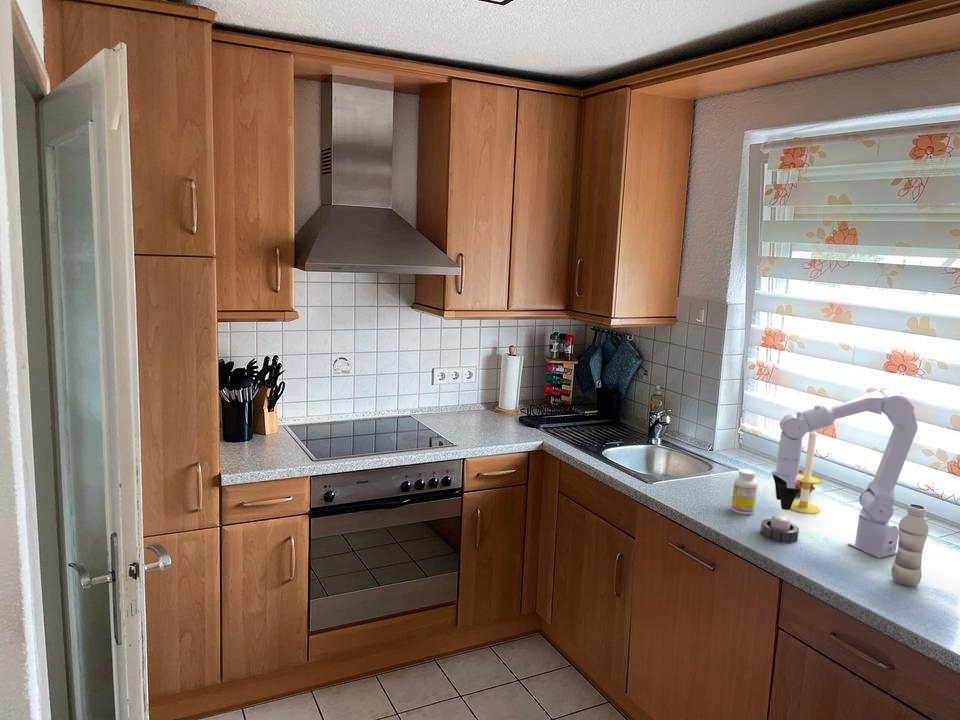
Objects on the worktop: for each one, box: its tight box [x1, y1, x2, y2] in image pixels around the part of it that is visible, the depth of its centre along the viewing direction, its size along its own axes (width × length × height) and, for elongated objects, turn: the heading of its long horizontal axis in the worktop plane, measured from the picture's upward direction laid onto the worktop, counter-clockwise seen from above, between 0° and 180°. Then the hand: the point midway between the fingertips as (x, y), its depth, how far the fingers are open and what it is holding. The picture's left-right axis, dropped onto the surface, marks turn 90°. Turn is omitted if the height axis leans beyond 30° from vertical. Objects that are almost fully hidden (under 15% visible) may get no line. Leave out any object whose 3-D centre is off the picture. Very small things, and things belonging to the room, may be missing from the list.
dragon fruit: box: [795, 470, 816, 496], centre depth 237 cm, size 8×8×12 cm
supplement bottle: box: [731, 468, 758, 516], centre depth 219 cm, size 7×7×13 cm
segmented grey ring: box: [759, 518, 800, 544], centre depth 203 cm, size 10×10×3 cm
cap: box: [770, 515, 791, 531], centre depth 202 cm, size 5×5×5 cm
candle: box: [790, 430, 823, 515], centre depth 223 cm, size 10×10×27 cm
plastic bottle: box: [891, 503, 930, 587], centre depth 176 cm, size 6×7×20 cm
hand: (783, 504), depth 201 cm, fingers open, 7 cm apart
